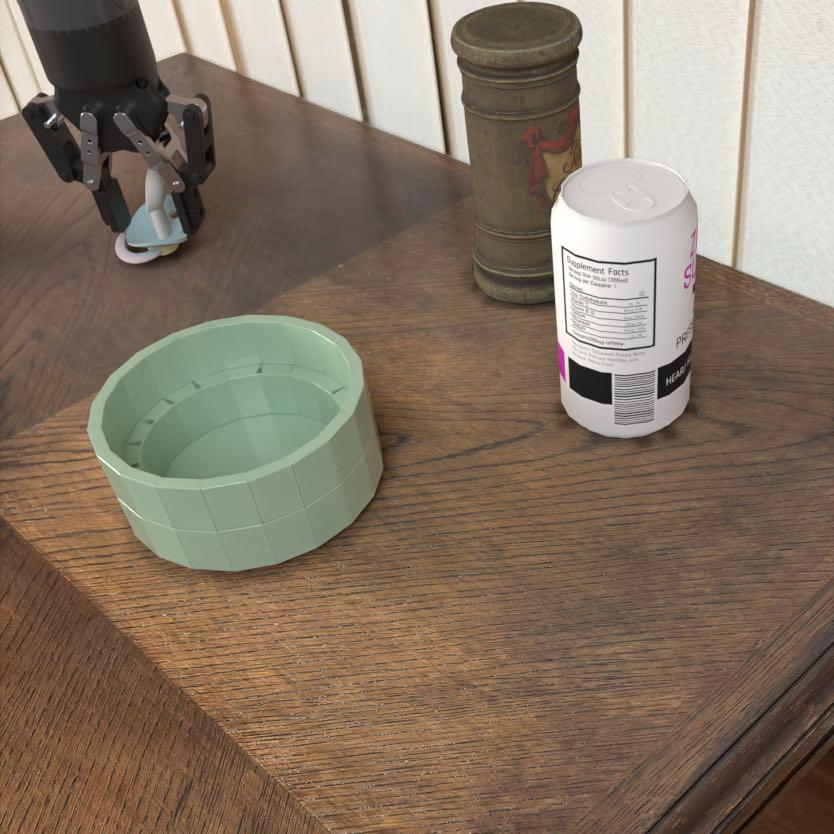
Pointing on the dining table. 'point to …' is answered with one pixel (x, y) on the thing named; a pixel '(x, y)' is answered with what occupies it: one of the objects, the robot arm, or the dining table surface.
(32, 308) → the dining table surface
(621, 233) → the supplement can
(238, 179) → the dining table surface
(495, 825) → the dining table surface
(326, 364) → the bowl
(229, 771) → the dining table surface
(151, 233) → the pacifier
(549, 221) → the container
